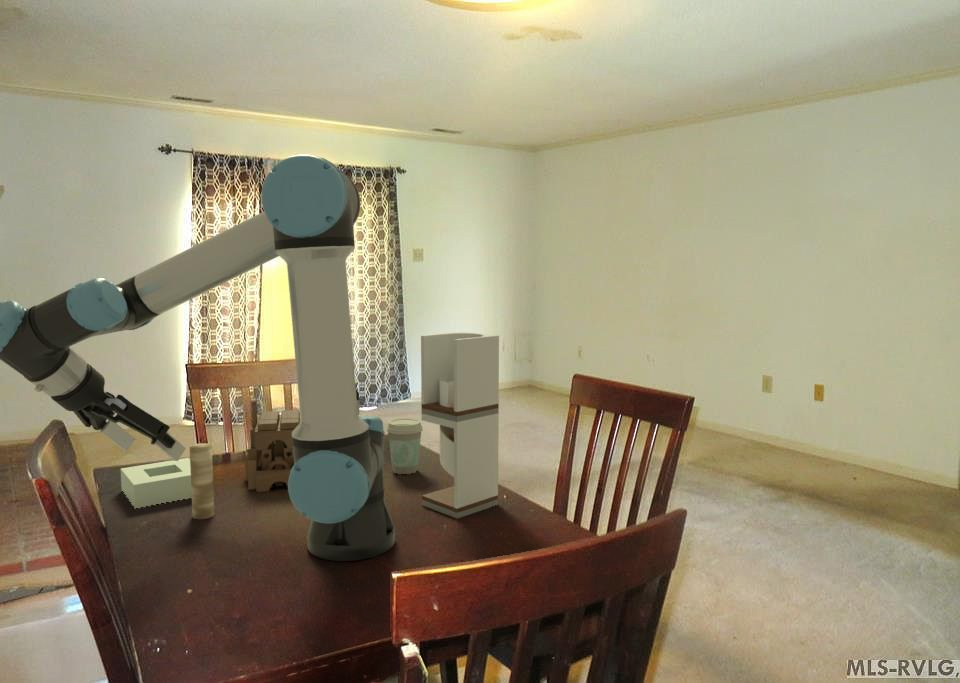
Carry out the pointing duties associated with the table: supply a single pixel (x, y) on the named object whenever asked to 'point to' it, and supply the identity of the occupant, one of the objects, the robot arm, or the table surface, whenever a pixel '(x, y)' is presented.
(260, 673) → the table surface
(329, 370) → the robot arm
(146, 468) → the socket block
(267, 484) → the wooden puzzle
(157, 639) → the table surface
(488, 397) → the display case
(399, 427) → the coffee cup
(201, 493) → the dowel
